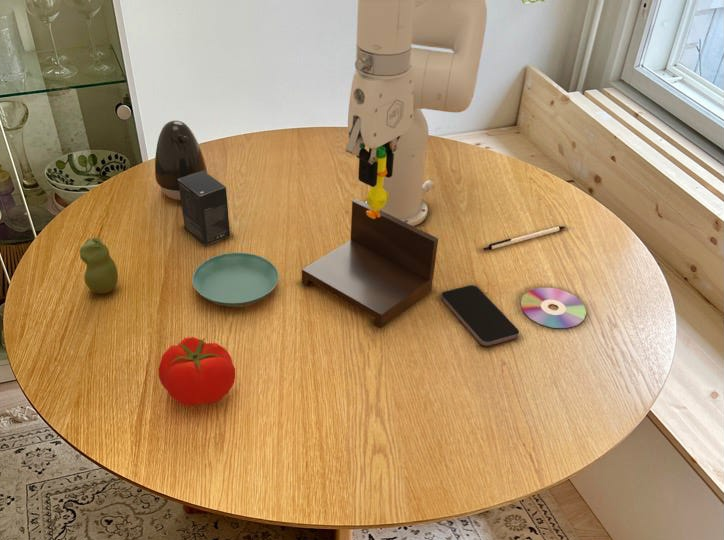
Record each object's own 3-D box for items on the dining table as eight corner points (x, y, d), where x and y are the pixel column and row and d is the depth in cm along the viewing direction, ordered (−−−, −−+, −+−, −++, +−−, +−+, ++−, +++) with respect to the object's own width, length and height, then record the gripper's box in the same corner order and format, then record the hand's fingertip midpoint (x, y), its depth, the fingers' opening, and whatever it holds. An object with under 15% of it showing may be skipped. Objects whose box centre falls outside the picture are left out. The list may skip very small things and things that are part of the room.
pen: (482, 249, 142) (483, 244, 141) (563, 227, 148) (564, 222, 147) (485, 252, 141) (486, 247, 140) (566, 230, 148) (567, 225, 147)
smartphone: (475, 283, 132) (522, 333, 122) (474, 289, 133) (521, 338, 123) (438, 292, 130) (483, 343, 120) (438, 298, 131) (482, 349, 121)
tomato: (241, 413, 109) (236, 370, 103) (164, 423, 107) (155, 379, 101) (233, 364, 117) (229, 321, 111) (161, 373, 115) (153, 329, 109)
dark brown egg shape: (169, 212, 147) (158, 139, 137) (151, 187, 154) (139, 116, 143) (217, 199, 151) (210, 128, 140) (198, 176, 157) (189, 106, 147)
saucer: (295, 279, 133) (294, 267, 131) (248, 326, 123) (247, 313, 122) (225, 255, 138) (224, 242, 136) (176, 297, 128) (174, 285, 126)
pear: (109, 302, 127) (97, 253, 120) (81, 296, 128) (68, 246, 121) (126, 283, 130) (115, 234, 123) (98, 277, 131) (86, 228, 124)
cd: (555, 280, 135) (555, 280, 135) (600, 315, 128) (600, 315, 128) (507, 299, 130) (507, 299, 130) (551, 336, 124) (551, 336, 124)
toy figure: (352, 207, 122) (354, 138, 114) (370, 201, 123) (374, 132, 115) (375, 227, 118) (380, 157, 110) (394, 221, 120) (400, 151, 111)
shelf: (354, 250, 140) (356, 198, 132) (431, 291, 132) (438, 238, 124) (301, 283, 132) (301, 229, 124) (380, 329, 124) (384, 274, 116)
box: (231, 236, 142) (226, 186, 134) (205, 246, 139) (199, 196, 132) (209, 218, 146) (203, 168, 139) (183, 228, 143) (176, 177, 136)
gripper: (365, 84, 97) (359, 208, 110) (440, 50, 106) (426, 168, 119) (322, 67, 101) (321, 189, 114) (398, 35, 110) (389, 152, 122)
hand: (375, 177), depth 116 cm, fingers closed on toy figure, 3 cm apart
